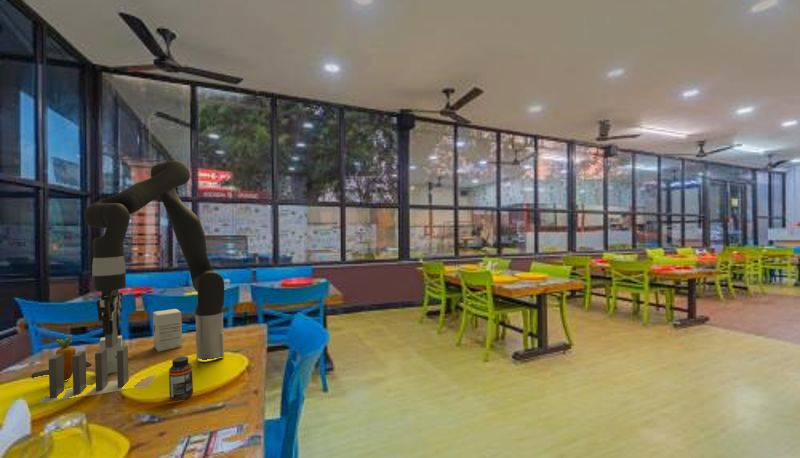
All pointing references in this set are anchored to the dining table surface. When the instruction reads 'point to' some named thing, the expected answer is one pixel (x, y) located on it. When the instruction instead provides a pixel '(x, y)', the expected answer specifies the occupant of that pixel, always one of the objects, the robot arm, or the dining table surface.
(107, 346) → the domino
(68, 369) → the carrot
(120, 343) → the skincare box
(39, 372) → the phone
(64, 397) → the domino mat
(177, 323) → the supplement box
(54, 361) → the domino far
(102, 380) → the domino
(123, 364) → the domino
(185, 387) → the supplement bottle
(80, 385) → the domino
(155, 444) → the dining table surface
